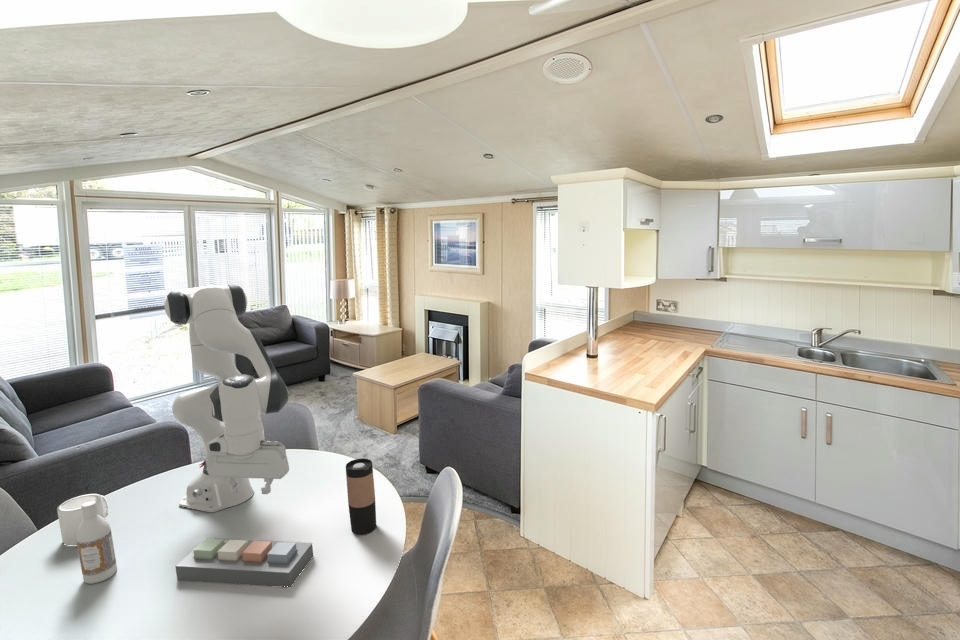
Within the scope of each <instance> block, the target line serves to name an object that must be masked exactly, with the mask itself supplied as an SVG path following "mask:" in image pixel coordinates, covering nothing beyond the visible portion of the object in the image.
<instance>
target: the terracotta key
mask: <svg viewBox="0 0 960 640" xmlns="http://www.w3.org/2000/svg"><path fill="white" fill-rule="evenodd" d="M268 541H269V540H261V541H253V542H252V543H251V544H250V545H249V546H248V547H247V548H246V549H245V550H244V551H243V552H242V555H243V561H246V562H263V561H264V559H265V558H266V557H267V554H268V553H269V551H270V550H271V549H272V542H268Z"/></svg>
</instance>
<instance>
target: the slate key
mask: <svg viewBox="0 0 960 640" xmlns="http://www.w3.org/2000/svg"><path fill="white" fill-rule="evenodd" d="M288 542H289V541H281V542H277V544H276V545H275V546H274V547H273V548H272V549H271V550H270V551H269V553H268V554H267V556H268V563H282V564H288V562H289V561H290V560H291V559H292V557H293V556H294V555H295V554H296V552H297V548H296V543H288Z"/></svg>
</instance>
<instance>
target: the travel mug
mask: <svg viewBox="0 0 960 640" xmlns="http://www.w3.org/2000/svg"><path fill="white" fill-rule="evenodd" d="M373 466H374V465H373V462H372V460H371V459H369V458H357V459H352V460H350V461H348V462H347V463H346V464H345V476H346V477H345V478H346V488H347V505H348V512H349V519H350V521H349V523H350V530H351V533H352V534H354V535H356V536H366V535H369V534H371V533H373V532H374V531H375V530H376V528H377V512H376V511H377V510H376V509H377V507H376V491H375V479H374V470H373Z"/></svg>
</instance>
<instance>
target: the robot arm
mask: <svg viewBox="0 0 960 640" xmlns="http://www.w3.org/2000/svg"><path fill="white" fill-rule="evenodd" d="M247 298H248V297H247V295H246V293H245V292H244V289H243V288H242V287H241V286H240V285H235V284H227V285H219V284H218V285H204V286H197V287H191V288H185V289H181V288H180V289H175V290H172V291H170V292H169V293H168V294H167V295H166V299H165V302H164V311H165V313H166V315H167V317H168V319H169V321H170V322H172V323H173V324H174V325H187V324H189V331H188V332H189V343H190V352H191V358H192V364H193V368H194V369H195V371H197V373H200V374H202V375H205V376H206V375H207V376H208V377H214V378H215V379H216V382H217V383H215V384H213V385H208V386H203V387H198V388H194V389H193V388H192V389H191V390H187V391H185V392H183V393H181V394H178V395H177V396H176V397H175V399H174V401H173V403H172V415H173V416H174V418H175V419H176V421H177V422H179V423H180V424H181V425H183V426H186V427H189V428H191V429H192V430H193V431H195V432H196V434H198V436H199V437H200V438H201V441H202V444H203V447H204V452H205V459H204V460H203V462H202V463H200V464H199V469H201V468H202V467H203V468H202V471H201V472H200V473H199V474H198V475H196V477H194V478H193V479H192V480H191V481H190V482H189V483H188V485H187V487H186V494H185V495H184V496H183V497H182V498H181V499H180V501H179V503H178V507H180V506H182V507H181V508H184V507H187V508H186V509H190V508H192V509H191V510H195V509H196V510H195V511H203V512H207V513H216V512H218V511H222V510H224V509H228V508H231V507H234V506H235V507H236V506H237V505H240V504H243V503H245V502H247V501H248V500H250V498H251V497H253V495H254V493H255V490H254V489H253V487H252V485H251V482H250V479H263V480H264V483H265V484H264V485H263V486H262V487H261V488H260V491H261V495H269V494H270V493H271V491H272V488H271V485H272V483H273V481H274V480H281V479H283V478H284V477H285V476H286V475H287V474H288V473H289V471H290V466H289V464H290V463H289V461H288V456H287V451H286V450H287V449H286V446H285V445H284V444H283V443H281V442H280V441H278V440H273V441H271V440H265V431H264V429H265V428H264V424H263V423H264V422H263V421H262V419H261V415H264V414H266V415H267V414H268V415H270V414H276V413H280V412H281V410H283V408H284V407H285V406H286V405H287V404H288V402H289V391H288V387H287V385H286V383H285V381H284V379H283V378H282V377H281V375H280V374H279V372H278V371H277V369H276V367H275V366H274V364H273V362H272V360H271V358H270V357H269V354H268V353H267V351H266V349H265V347H264V345H263V343H262V341H261V340H260V338H259V337H258V335H257V334H256V332H255V331H254V330H252V329H249V328H247V327H245V326H244V325H243V324H242V322H240V320H239V318H241V317H242V316H244V315H245V313H246V312H247V307H248V299H247ZM233 354H236V355H239V356H240V355H241V356H243V357H245V358H247V359H248V360H249V361H250V362H251V364H252V366H253V368H254V370H255V372H256V374H257V375H258V378H255V377H254V376H252V375H250V374H246V373H245V374H243V373H241V372H240V371H239V369H238V368H237V366H236V364H235V362H234V358H233ZM221 422H222V423H224V424H221Z"/></svg>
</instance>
